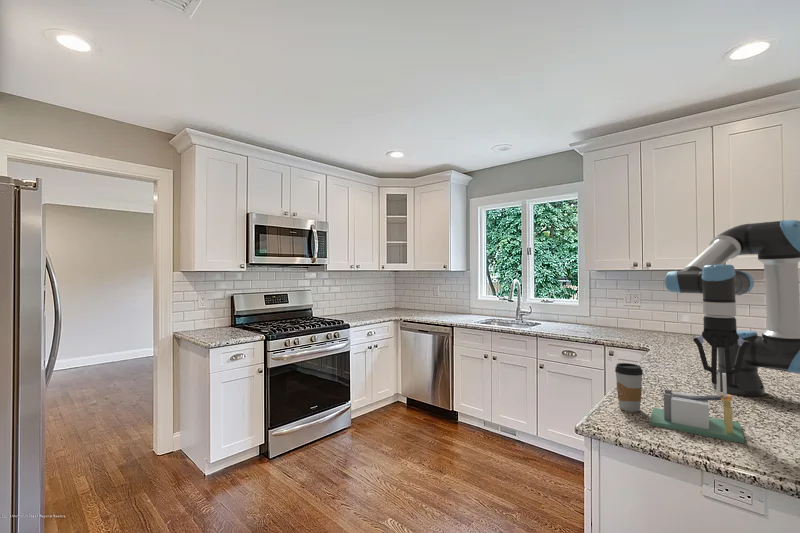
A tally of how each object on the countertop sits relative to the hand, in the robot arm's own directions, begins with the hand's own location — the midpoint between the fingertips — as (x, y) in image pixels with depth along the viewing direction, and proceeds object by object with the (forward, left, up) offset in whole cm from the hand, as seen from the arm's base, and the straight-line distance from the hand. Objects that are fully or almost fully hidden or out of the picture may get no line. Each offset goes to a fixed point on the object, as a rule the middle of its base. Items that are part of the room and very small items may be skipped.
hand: (721, 395), depth 113 cm
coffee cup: (+19, -17, -11) cm, 27 cm away
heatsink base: (+6, -4, -11) cm, 13 cm away
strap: (+5, -3, -3) cm, 6 cm away
